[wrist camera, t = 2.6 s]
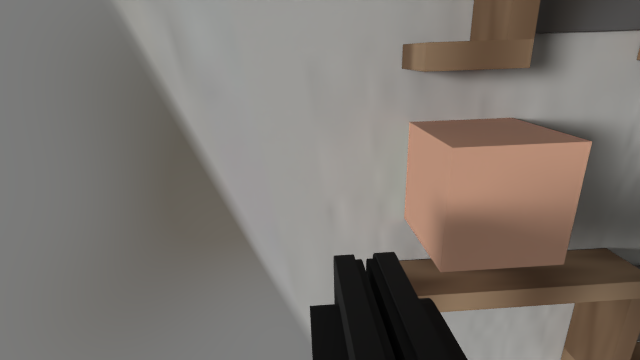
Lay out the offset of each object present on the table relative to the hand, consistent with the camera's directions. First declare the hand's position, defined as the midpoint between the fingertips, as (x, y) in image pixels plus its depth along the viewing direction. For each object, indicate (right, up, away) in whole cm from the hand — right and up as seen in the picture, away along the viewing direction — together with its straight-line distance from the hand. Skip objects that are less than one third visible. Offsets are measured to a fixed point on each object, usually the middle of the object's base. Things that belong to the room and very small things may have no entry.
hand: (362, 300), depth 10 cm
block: (+6, +4, +8) cm, 10 cm away
